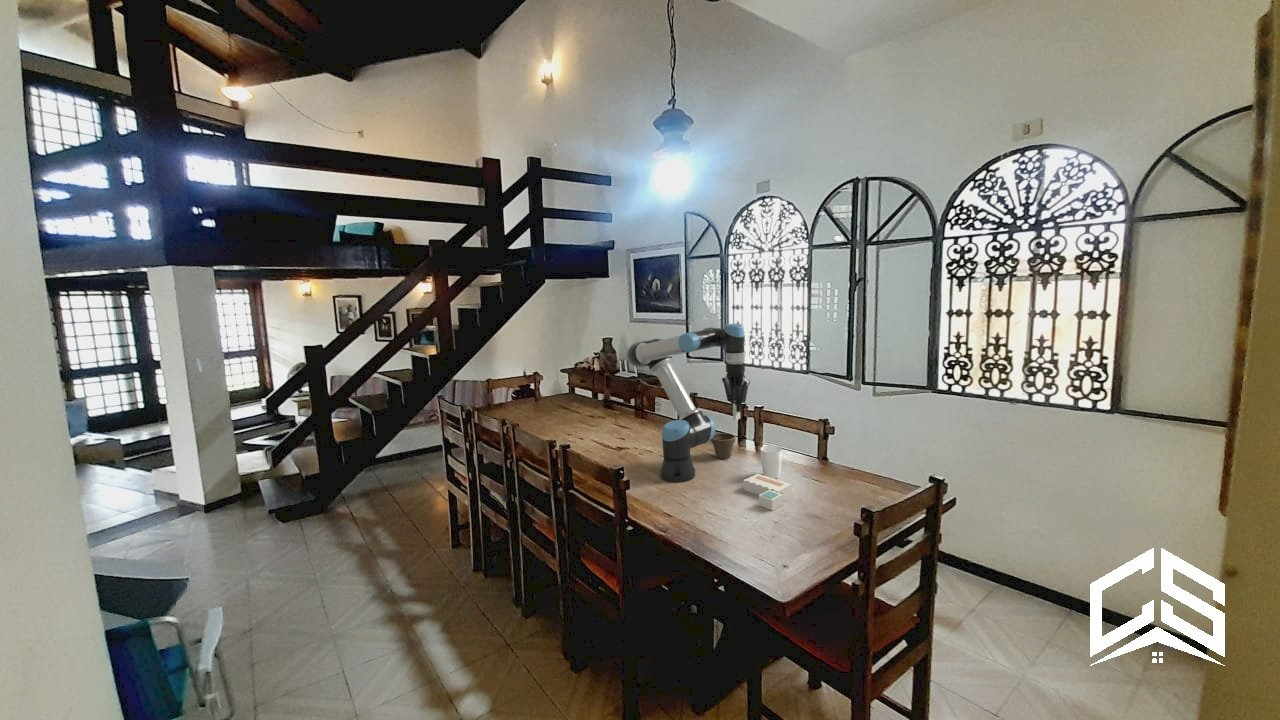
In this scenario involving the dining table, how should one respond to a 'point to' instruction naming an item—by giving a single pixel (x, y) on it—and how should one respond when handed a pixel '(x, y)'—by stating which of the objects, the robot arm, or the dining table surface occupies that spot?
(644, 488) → the dining table surface
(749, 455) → the dining table surface
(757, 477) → the block
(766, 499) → the white teal-topped box
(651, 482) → the dining table surface
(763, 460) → the cup
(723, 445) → the flower pot
